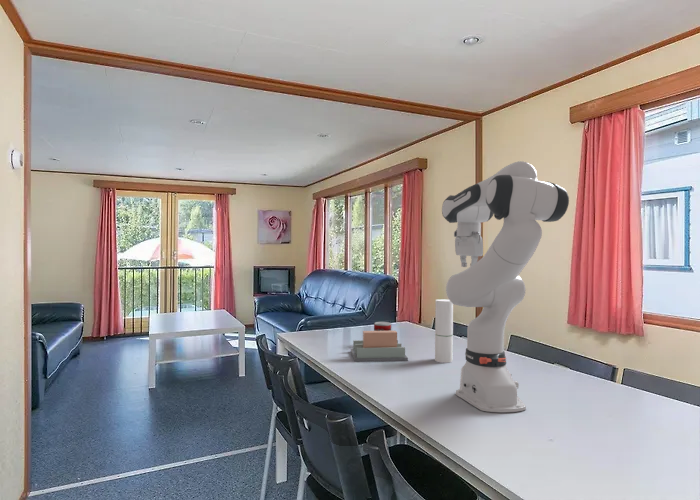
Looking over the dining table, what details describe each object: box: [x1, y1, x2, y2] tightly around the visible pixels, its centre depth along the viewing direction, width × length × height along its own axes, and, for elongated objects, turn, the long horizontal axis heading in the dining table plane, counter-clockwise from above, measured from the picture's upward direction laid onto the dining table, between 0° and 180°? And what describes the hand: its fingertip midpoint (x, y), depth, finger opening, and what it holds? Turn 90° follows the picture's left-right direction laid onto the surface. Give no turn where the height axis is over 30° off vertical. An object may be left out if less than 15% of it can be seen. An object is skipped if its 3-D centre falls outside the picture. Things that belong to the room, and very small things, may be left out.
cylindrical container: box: [434, 298, 454, 364], centre depth 177 cm, size 7×7×25 cm
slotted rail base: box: [350, 339, 409, 363], centre depth 184 cm, size 17×22×5 cm
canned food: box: [373, 321, 392, 331], centre depth 202 cm, size 8×8×11 cm
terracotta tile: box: [362, 330, 398, 348], centre depth 180 cm, size 4×14×10 cm, turn 96°
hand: (468, 267), depth 167 cm, fingers open, 8 cm apart
